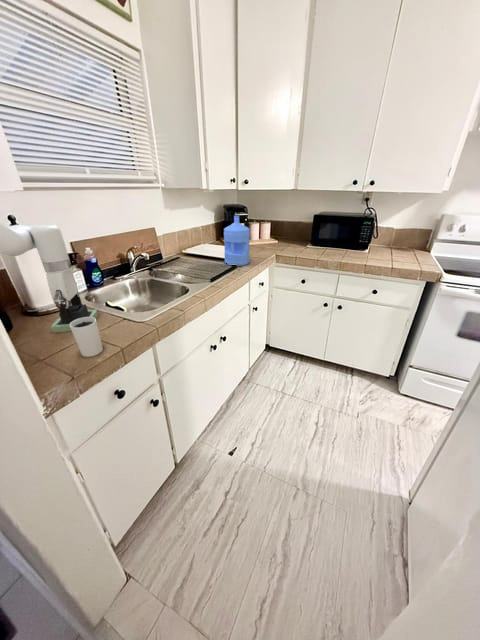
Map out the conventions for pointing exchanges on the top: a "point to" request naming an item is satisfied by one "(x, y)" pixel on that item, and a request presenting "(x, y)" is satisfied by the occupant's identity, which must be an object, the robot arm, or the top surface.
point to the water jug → (236, 243)
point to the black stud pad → (74, 309)
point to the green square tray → (66, 327)
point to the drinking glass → (87, 336)
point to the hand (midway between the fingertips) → (73, 312)
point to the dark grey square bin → (77, 313)
